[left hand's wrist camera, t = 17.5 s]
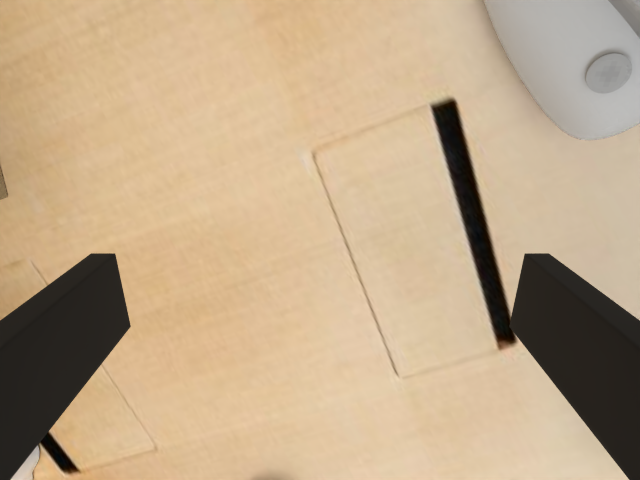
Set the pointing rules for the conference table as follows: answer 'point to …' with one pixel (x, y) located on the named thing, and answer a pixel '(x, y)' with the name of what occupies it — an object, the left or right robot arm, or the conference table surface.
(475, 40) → the conference table surface
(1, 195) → the bar
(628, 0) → the projector
